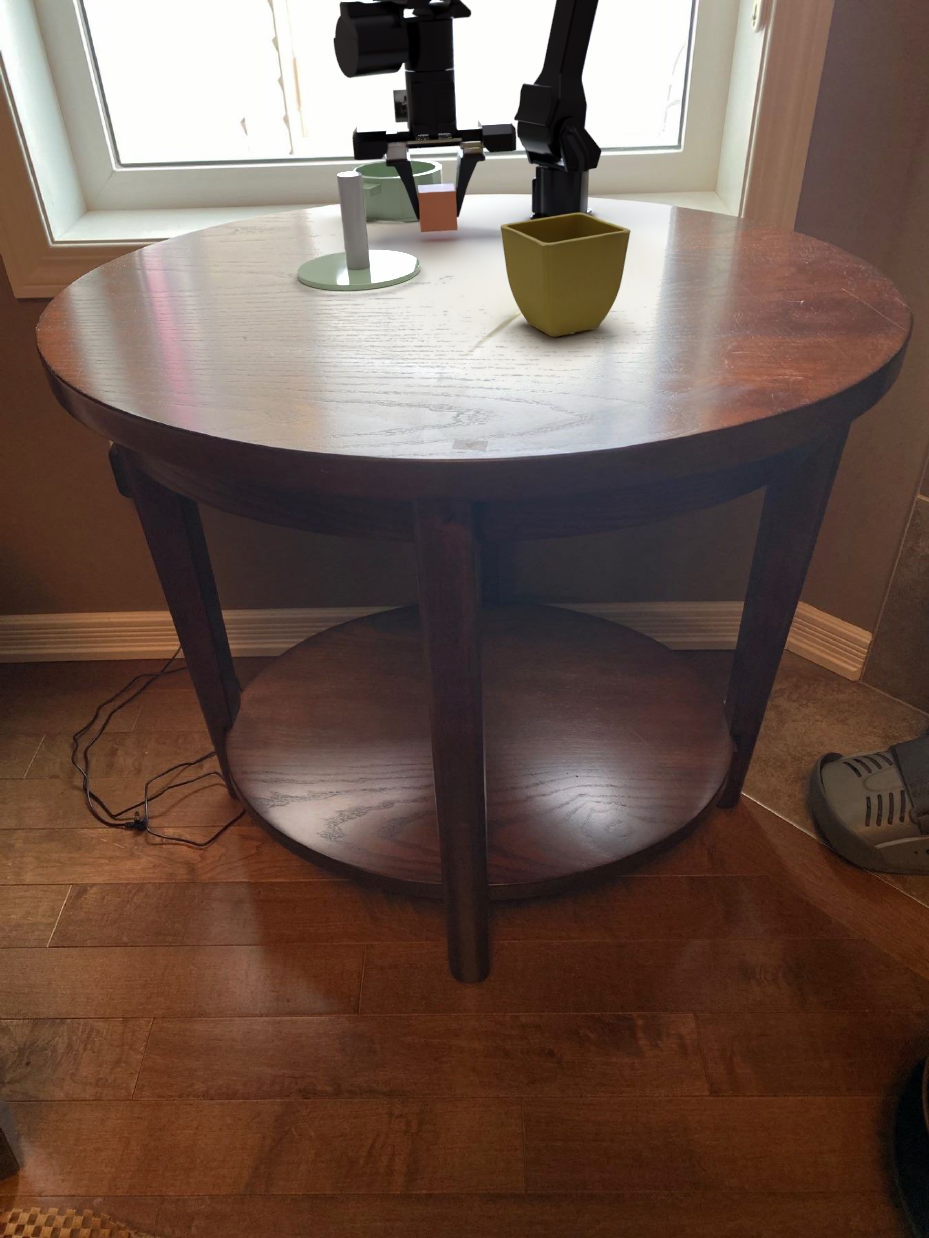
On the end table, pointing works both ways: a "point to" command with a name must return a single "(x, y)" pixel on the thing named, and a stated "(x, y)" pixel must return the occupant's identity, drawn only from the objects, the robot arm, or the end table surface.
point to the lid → (356, 250)
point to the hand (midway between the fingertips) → (438, 218)
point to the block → (437, 207)
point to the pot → (393, 189)
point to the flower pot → (565, 270)
